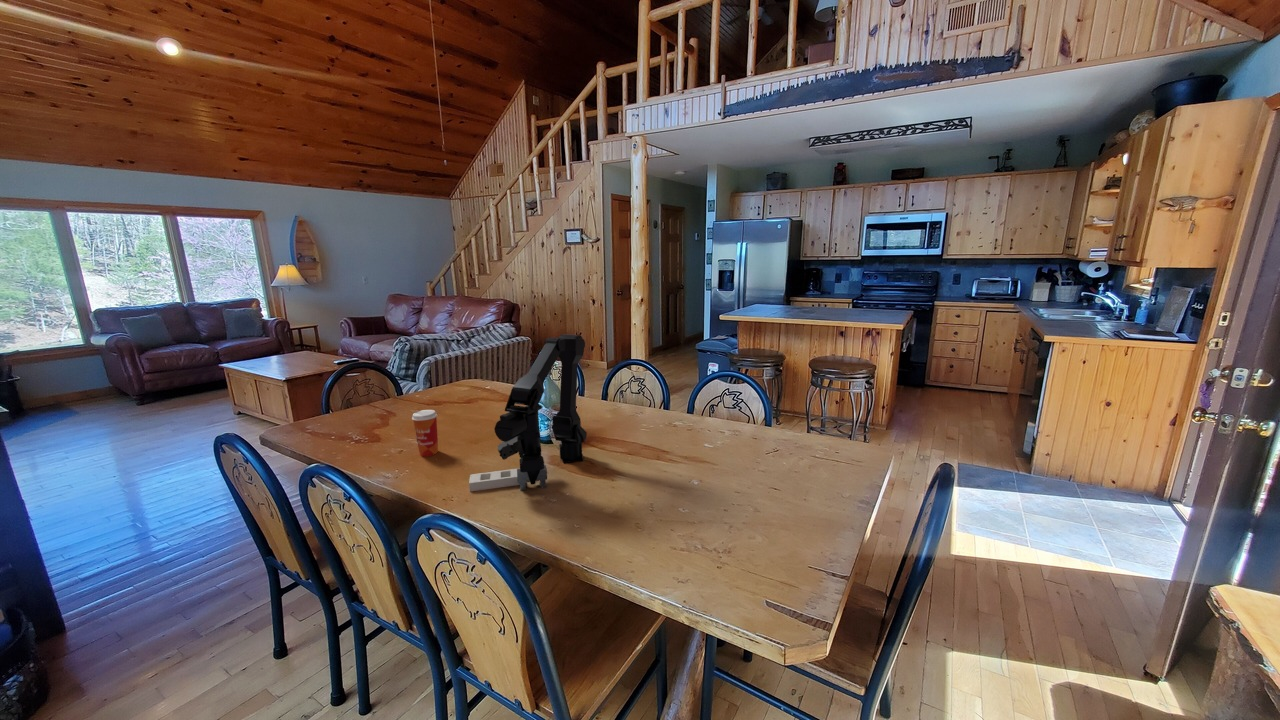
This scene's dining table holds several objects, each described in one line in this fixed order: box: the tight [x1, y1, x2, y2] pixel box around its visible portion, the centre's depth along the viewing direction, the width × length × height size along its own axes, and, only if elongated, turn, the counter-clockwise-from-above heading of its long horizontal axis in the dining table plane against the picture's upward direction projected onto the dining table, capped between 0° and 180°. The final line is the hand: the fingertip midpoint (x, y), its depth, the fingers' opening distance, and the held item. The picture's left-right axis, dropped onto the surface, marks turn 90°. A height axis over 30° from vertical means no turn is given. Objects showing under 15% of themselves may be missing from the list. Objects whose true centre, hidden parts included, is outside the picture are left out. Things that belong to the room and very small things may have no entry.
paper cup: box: [411, 409, 439, 457], centre depth 160 cm, size 8×8×14 cm
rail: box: [468, 467, 520, 492], centre depth 138 cm, size 14×6×2 cm, turn 105°
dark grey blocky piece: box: [516, 464, 548, 491], centre depth 136 cm, size 8×3×5 cm, turn 105°
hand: (532, 481), depth 136 cm, fingers closed on dark grey blocky piece, 3 cm apart
